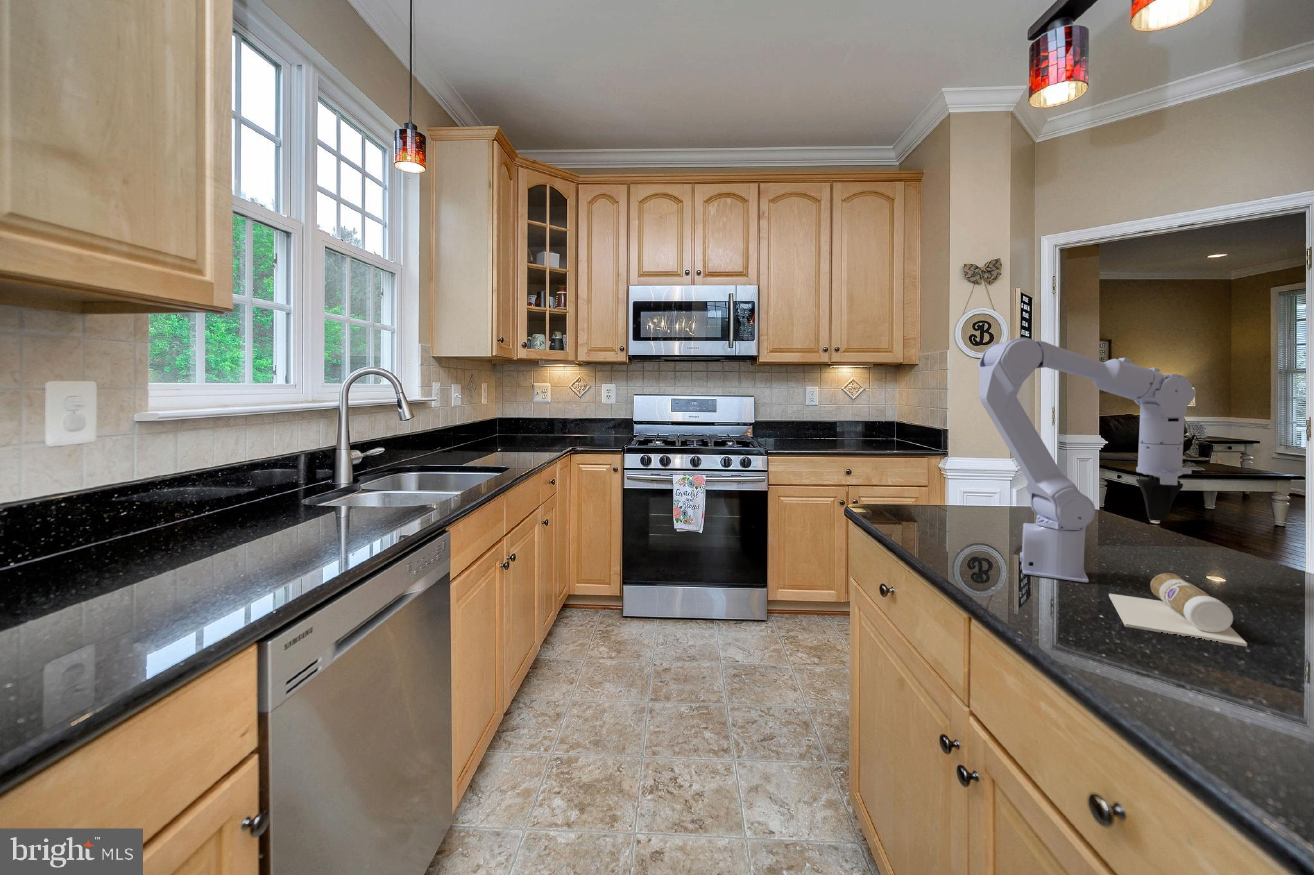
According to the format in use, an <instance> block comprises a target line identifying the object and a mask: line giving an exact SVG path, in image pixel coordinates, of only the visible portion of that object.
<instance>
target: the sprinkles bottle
mask: <svg viewBox="0 0 1314 875" xmlns="http://www.w3.org/2000/svg"><path fill="white" fill-rule="evenodd" d="M1149 585H1150V591H1151V592H1152V594H1153V595H1154V596H1155V597H1157V599H1160V601H1164V602H1165V603H1166V604H1167V605H1169V606H1170V607H1171V608H1173V609H1174V610H1175V611H1176V612H1178V613H1179V614H1181V615H1182V616H1184V617H1185V618H1186V619H1187V620H1188V621H1189V622H1190V623H1191V624H1192V625H1194V626H1195V627H1197V628H1198V629H1200V630H1203V631H1206V632H1221V631H1224V630H1226V629H1227V628H1229V627H1231V626H1232V624H1233V621H1234V615H1233V614H1234V613H1233V612H1232V610H1231V609H1230V607H1228V606H1227V605H1226V604H1225V603H1223V602H1222V601H1221V600H1219V599H1218V598H1215V597H1213V596H1210V594H1208V593H1207V592H1205V591H1204V590H1202V589H1200V588H1198V587H1197V586H1195V585H1194V584H1192V583H1190V582H1188V581H1186V580H1185V579H1184V578H1183V577H1181V576H1179V575H1178V574H1176V573H1170V572H1163V573H1160V574H1157V575H1156V576H1154V577H1153V578H1152V579H1151V580H1150V584H1149Z"/></svg>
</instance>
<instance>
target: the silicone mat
mask: <svg viewBox="0 0 1314 875" xmlns="http://www.w3.org/2000/svg"><path fill="white" fill-rule="evenodd" d="M1108 597H1109V599H1110V601H1111V602H1112V604H1113V606H1114V608H1115V610H1116V612H1117V613H1118V615H1119V618H1120V619H1121V621H1122V623H1123V625H1124V627H1126V628H1132V629H1138V630H1144V631H1151V632H1156V633H1161V632H1163V633H1162V634H1167V633H1168V635H1173V634H1177V635H1176V636H1179V635H1181V636H1180V637H1185V636H1191V637H1190V638H1192V637H1195V638H1194V639H1198V638H1202V639H1201V640H1204V639H1205V640H1206V641H1210V640H1212V641H1211V642H1216V641H1218V642H1217V643H1223V644H1227V645H1229V644H1230V645H1235V646H1241V647H1248V643H1247V642H1246V641H1245V640H1244V639H1243V638H1242V636H1240V635H1239V634H1238V633H1237V632H1236V631H1235V630H1234V629H1233V628H1232V626H1230V627H1229V628H1227V629H1226V630H1224V631H1221V632H1206V631H1203V630H1200V629H1198V628H1197V627H1195V626H1194V625H1192V624H1191V623H1190V622H1189V621H1188V620H1187V619H1186V618H1185V617H1184V616H1182V615H1181V614H1179V613H1178V612H1176V611H1175V610H1174V609H1173V608H1171V607H1170V606H1169V605H1167V604H1166V603H1165V602H1164V601H1163V600H1158V599H1151V598H1143V597H1136V596H1128V595H1122V594H1116V593H1108ZM1205 640H1204V641H1205Z"/></svg>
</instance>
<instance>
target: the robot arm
mask: <svg viewBox="0 0 1314 875" xmlns="http://www.w3.org/2000/svg"><path fill="white" fill-rule="evenodd" d="M981 355H982V356H981V357H980V360H979V361H978V363H977V368H978V371H979V392H978V393H979V399H980V400H979V401H980V403H981V404H982V406H983V408H984V409H985V411H986V413H987V414H988V416H989V418H990V419H991V421H992V423H993V424H994V426H995V428H996V429H997V432H998V433H999V435H1000V436H1001V438H1002V440H1003V442H1004V443H1005V445H1006V446H1007V448H1008V450H1009V452H1010V453H1011V455H1012V457H1013V459H1014V460H1015V462H1016V464H1017V465H1018V467H1019V468H1020V470H1021V472H1022V473H1023V476H1024V477H1025V479H1026V480H1027V483H1026V487H1025V489H1026V491H1027V493H1028V495H1029V505H1030V508H1031V510H1032V512H1033V513H1035V514H1036V520H1035V523H1028V522H1023V524H1022V539H1021V540H1022V544H1021V546H1022V547H1021V551H1020V553H1019V562H1021V570H1022V572H1021V573H1022V574H1023V575H1028V576H1029V575H1030V576H1036V577H1044V578H1051V579H1058V580H1065V581H1073V582H1081V583H1089V581H1090V580H1089V578H1088V576H1087V573H1086V571H1085V569H1084V565H1085V564H1084V563H1085V562H1084V561H1085V543H1086V541H1085V540H1086V530H1087V529H1086V528H1087V526H1088V525H1089V524H1090V523H1092V521H1093V520H1094V518H1095V515H1096V506H1095V504H1094V503H1093V501H1092V500H1091V498H1090V497H1088V496H1087V495H1085V494H1083V493H1082V492H1081V491H1080V490H1079V489H1078V487H1077V486H1076V484H1075V483H1074V482H1073V481H1072V480H1070V479H1069V478H1068V477H1067V476H1066V475H1065V474H1063V473H1062V472H1061V469H1060V468H1059V466H1058V464H1057V463H1056V462H1055V459H1054V458H1053V457H1052V454H1051V453H1050V451H1049V449H1048V448H1047V446H1046V444H1045V443H1044V441H1043V439H1042V437H1041V436H1040V434H1039V433H1038V431H1037V430H1036V428H1035V426H1034V424H1033V422H1032V421H1031V419H1030V417H1029V416H1028V414H1027V412H1026V411H1025V409H1024V407H1023V406H1022V404H1021V403H1020V401H1019V398H1018V396H1017V395H1018V394H1019V391H1020V390H1021V387H1022V385H1023V383H1024V382H1025V381H1026V380H1027V379H1028V378H1029V377H1030V375H1031V374H1032V373H1033V372H1034V371H1035V370H1037V369H1041V368H1042V369H1043V368H1047V369H1050V370H1055V371H1059V372H1062V373H1066V374H1070V375H1073V376H1077V377H1081V378H1084V379H1087V380H1088V379H1089V380H1091V381H1092V382H1093V385H1094V387H1095V388H1096V389H1097V390H1099V391H1103V392H1105V393H1109V394H1112V395H1116V396H1118V397H1121V398H1125V399H1128V400H1132V401H1134V402H1135V403H1136V405H1138V406H1139V408H1140V410H1139V432H1138V433H1139V434H1138V454H1137V455H1138V457H1137V466H1136V467H1135V468H1136V469H1135V470H1136V473H1140V474H1143V475H1145V476H1146V475H1148V477H1147V478H1136V479H1135V481H1136V483H1137V485H1138V487H1139V488H1140V491H1141V493H1142V496H1143V500H1144V505H1145V511H1146V515H1147V517H1148V519H1149V520H1150V521H1157V522H1158V521H1159V522H1167V519H1168V517H1169V514H1170V511H1171V508H1172V505H1173V503H1174V500H1175V499H1176V497H1177V495H1178V494H1179V492H1180V491H1181V490H1182V488H1183V487H1184V484H1183V483H1182V482H1181V481H1180V480H1179V478H1178V477H1181V476H1182V475H1191V474H1192V469H1190V468H1183V460H1184V459H1183V457H1184V456H1183V454H1184V453H1183V452H1184V434H1185V432H1184V431H1185V417H1186V416H1185V415H1187V414H1188V413H1187V411H1188V409H1187V408H1188V406H1189V405H1190V403H1191V402H1192V401H1193V400H1194V399H1195V396H1196V394H1197V390H1196V389H1193V385H1192V383H1191V382H1190V381H1189V380H1188V378H1186V377H1185V376H1184V375H1181V374H1176V373H1175V374H1174V373H1172V374H1163V373H1162V372H1160V371H1161V369H1160V368H1158V367H1150V368H1147V367H1145V366H1141V365H1138V364H1134V363H1132V359H1131V358H1128V357H1119V358H1118V359H1117V358H1112V359H1109V360H1106V361H1104V362H1102V361H1099V360H1096V359H1093V358H1091V357H1088V356H1085V355H1082V354H1080V353H1077V352H1074V351H1071V350H1068V349H1065V348H1062V347H1059V346H1057V345H1054V344H1051V343H1049V342H1047V341H1042V340H1033V339H1032V338H1029V337H1017V338H1015V339H1011V340H1007V341H1003V342H996V343H993V344H990V345H989V346H988V347H987V348H986V349H985V350H984V352H982V354H981Z"/></svg>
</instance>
